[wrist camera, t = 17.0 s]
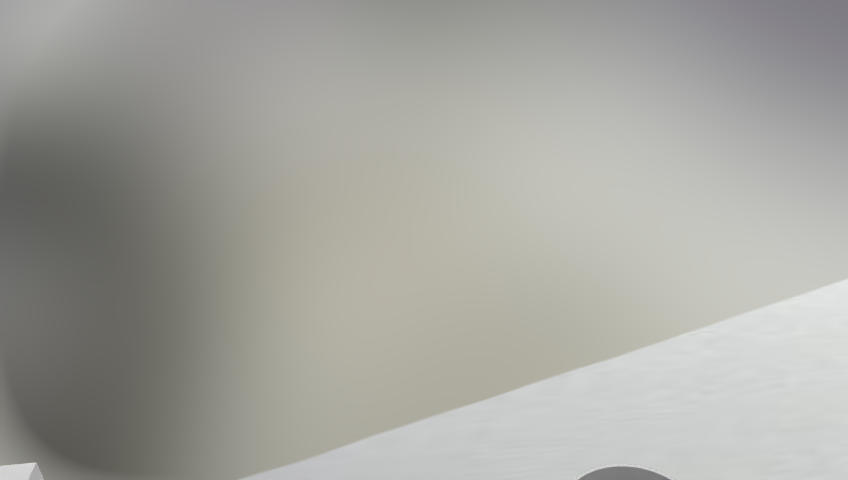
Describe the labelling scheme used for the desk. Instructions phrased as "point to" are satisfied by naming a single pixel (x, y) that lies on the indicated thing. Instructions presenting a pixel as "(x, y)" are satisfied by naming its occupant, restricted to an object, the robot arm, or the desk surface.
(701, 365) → the desk surface
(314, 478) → the desk surface
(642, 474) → the cup
